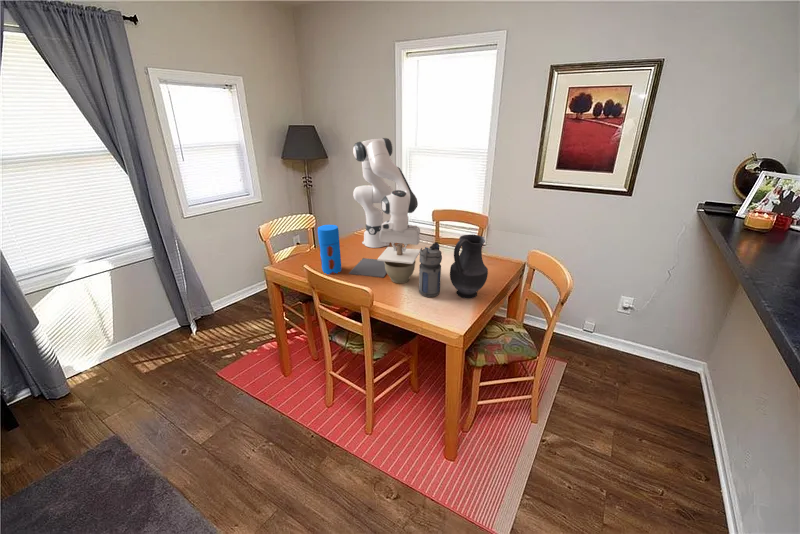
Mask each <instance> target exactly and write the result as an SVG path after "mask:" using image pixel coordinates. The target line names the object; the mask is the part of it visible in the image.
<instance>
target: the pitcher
mask: <svg viewBox="0 0 800 534" xmlns="http://www.w3.org/2000/svg"><path fill="white" fill-rule="evenodd" d="M458 239H459V240H458V241H457V242H456V244H455V247H454V249H453V260H454V262H452V264H451V265H450V269H449V279H450V281H451V284H452V286H453V287H454V288H455V289H456V292H455V293H456V295H457V296H458V297H460V298H462V299H465V300H467V299H468V300H469V299H473V298H476V297H477V295H478V293H477V292H478V291H480V290H481V289H482V288H483V287H484V286H485V284H486V282H487V280H488V275H489V269H488V267H487V266H486V265H485V262H484V260H483V254H482V253H483V251H482V249H483V246H484V244H485V242H486V239H485V237H484V236H481V235H478V234H462V235H461V236H459V238H458Z"/></svg>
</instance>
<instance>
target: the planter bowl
mask: <svg viewBox="0 0 800 534" xmlns="http://www.w3.org/2000/svg"><path fill="white" fill-rule="evenodd" d="M384 264H385V269H386V272H387V274H386V275H387V276H388V277H389V278H390V281H391V282H393V283H395V284H404V283H407V282H409V280H410V278H411V276H412V275H413V273H414V270H415V268H416V260H415V261H414V263H413V264H406V263H396V262H386V261H384Z"/></svg>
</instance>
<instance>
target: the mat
mask: <svg viewBox="0 0 800 534" xmlns="http://www.w3.org/2000/svg"><path fill="white" fill-rule="evenodd" d="M377 259H378V258H377ZM377 259H375V258H368V257H367V258H364V257H363V258H362V259H361V260H360V261H359V262H358V263H357V264H356V265H355V266H354V267H353V268H352V269H351V270H350V271H349V272H348V275H355V276H363V277H364V276H365V277H373V278H379V279H384V278H385V276H386V275H388V274H387V272H386V269H385V264H384V261H377Z"/></svg>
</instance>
